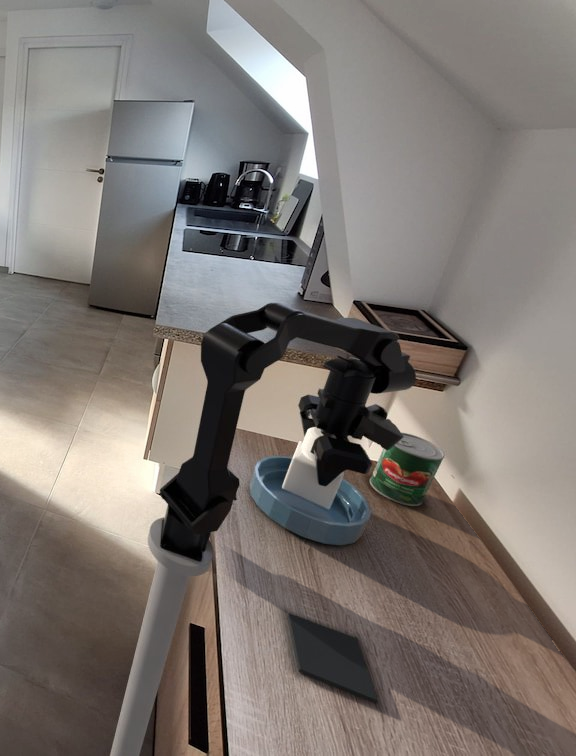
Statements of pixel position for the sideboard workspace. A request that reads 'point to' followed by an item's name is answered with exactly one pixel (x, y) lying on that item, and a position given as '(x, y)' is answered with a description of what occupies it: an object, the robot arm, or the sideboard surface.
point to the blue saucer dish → (308, 506)
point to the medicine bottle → (310, 473)
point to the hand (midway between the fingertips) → (316, 469)
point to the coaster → (330, 657)
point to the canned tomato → (407, 470)
